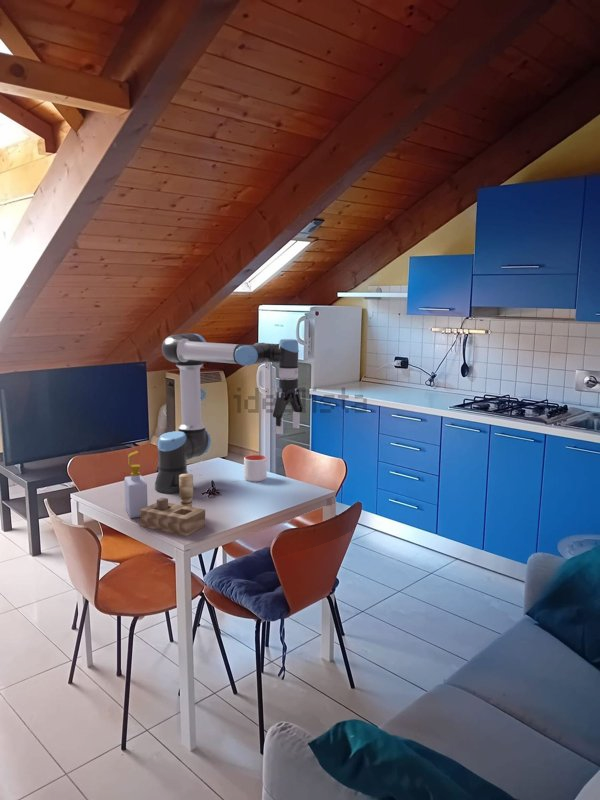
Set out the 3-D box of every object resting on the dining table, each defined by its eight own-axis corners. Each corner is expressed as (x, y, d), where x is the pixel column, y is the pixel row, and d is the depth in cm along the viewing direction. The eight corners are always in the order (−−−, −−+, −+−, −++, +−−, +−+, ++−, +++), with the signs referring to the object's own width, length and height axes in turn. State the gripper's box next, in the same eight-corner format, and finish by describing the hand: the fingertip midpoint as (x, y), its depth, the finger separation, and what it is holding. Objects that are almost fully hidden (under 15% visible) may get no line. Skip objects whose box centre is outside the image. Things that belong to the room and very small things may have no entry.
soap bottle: (148, 516, 229) (146, 454, 225) (129, 518, 226) (127, 456, 222) (142, 506, 240) (140, 447, 236) (125, 508, 237) (123, 448, 233)
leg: (177, 515, 230) (176, 476, 228) (185, 511, 235) (184, 473, 232) (188, 517, 228) (187, 478, 226) (196, 513, 232) (195, 474, 230)
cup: (265, 482, 273) (265, 460, 271) (243, 482, 273) (242, 460, 271) (267, 476, 283) (267, 455, 281) (245, 476, 283) (245, 454, 281)
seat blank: (140, 526, 219) (139, 501, 217) (160, 516, 229) (160, 493, 227) (186, 536, 210) (186, 510, 209) (205, 525, 220) (205, 501, 218)
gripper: (281, 382, 233) (280, 437, 236) (311, 375, 254) (310, 426, 258) (264, 381, 236) (263, 435, 240) (295, 374, 258) (294, 424, 261)
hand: (288, 430), depth 249 cm, fingers open, 13 cm apart
